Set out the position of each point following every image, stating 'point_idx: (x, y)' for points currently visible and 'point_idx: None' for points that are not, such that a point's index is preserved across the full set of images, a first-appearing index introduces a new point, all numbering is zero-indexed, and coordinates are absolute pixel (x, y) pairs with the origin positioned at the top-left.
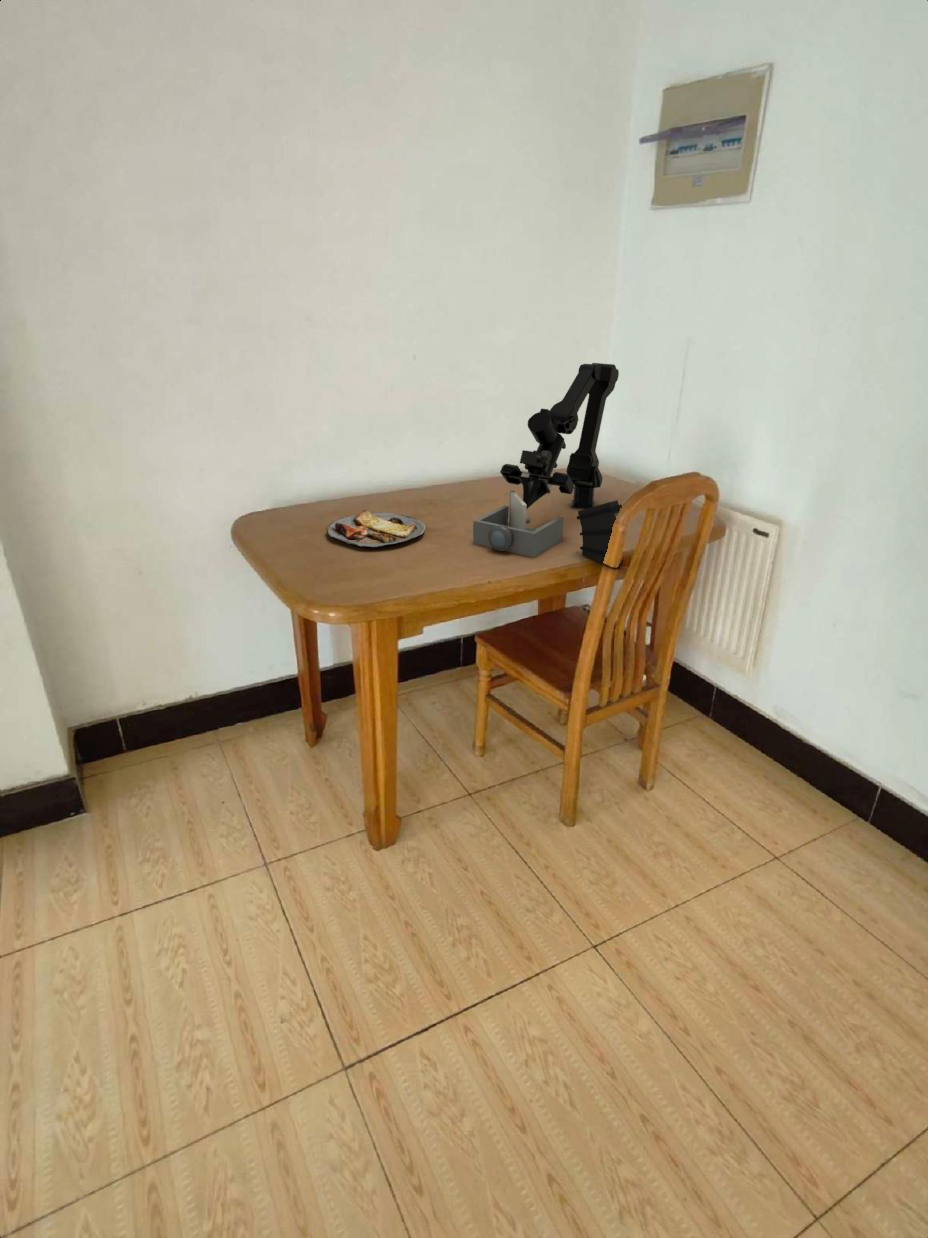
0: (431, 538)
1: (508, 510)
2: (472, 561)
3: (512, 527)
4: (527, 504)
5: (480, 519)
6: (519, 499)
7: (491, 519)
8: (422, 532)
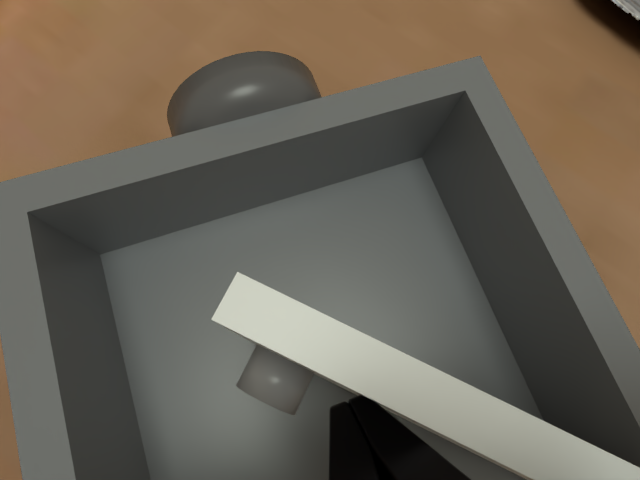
0: (580, 48)
1: None
2: (247, 14)
3: (205, 160)
4: (331, 444)
5: (478, 102)
6: (452, 402)
7: (514, 238)
8: (620, 4)
